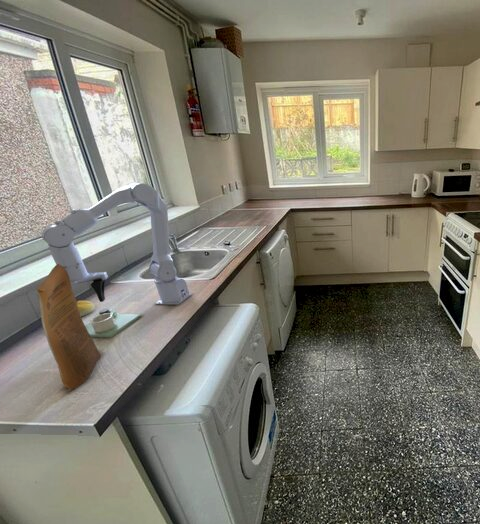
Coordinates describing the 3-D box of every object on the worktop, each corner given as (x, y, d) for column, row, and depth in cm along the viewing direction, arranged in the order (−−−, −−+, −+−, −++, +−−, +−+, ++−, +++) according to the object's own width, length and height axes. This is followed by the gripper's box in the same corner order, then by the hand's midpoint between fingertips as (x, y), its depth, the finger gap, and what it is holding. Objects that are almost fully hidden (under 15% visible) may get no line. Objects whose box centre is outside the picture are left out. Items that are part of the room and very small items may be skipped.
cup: (121, 323, 96) (116, 313, 94) (105, 333, 91) (100, 323, 89) (106, 322, 97) (102, 312, 95) (90, 333, 91) (85, 322, 90)
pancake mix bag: (112, 344, 87) (73, 259, 76) (90, 389, 71) (37, 288, 60) (84, 351, 84) (40, 264, 73) (55, 399, 68) (-7, 296, 57)
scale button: (111, 312, 100) (110, 308, 100) (105, 316, 98) (103, 312, 97) (105, 312, 101) (103, 308, 100) (98, 316, 98) (96, 312, 98)
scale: (141, 316, 101) (139, 310, 100) (110, 337, 90) (107, 331, 89) (107, 314, 103) (104, 309, 102) (72, 336, 92) (69, 329, 91)
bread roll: (65, 322, 100) (60, 312, 98) (67, 312, 106) (62, 303, 105) (95, 313, 105) (91, 303, 103) (95, 304, 111) (91, 295, 110)
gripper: (32, 274, 81) (53, 315, 86) (94, 264, 86) (111, 303, 91) (45, 265, 87) (64, 304, 92) (103, 256, 92) (118, 294, 97)
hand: (88, 303), depth 92 cm, fingers open, 7 cm apart
